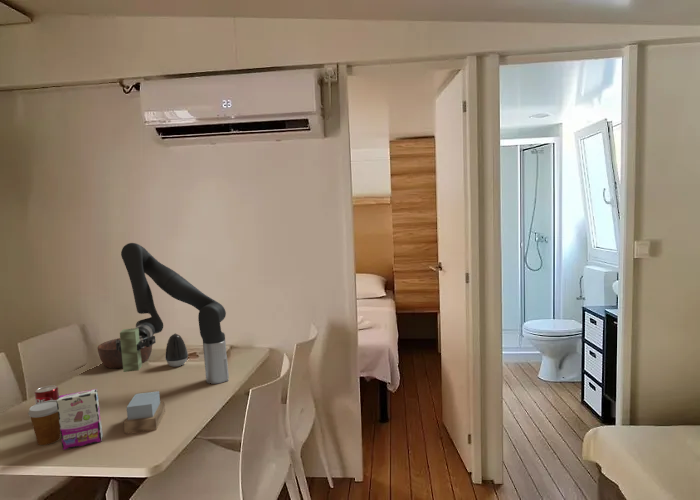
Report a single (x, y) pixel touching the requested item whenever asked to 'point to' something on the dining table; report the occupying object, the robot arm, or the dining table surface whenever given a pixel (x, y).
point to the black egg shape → (176, 351)
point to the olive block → (130, 350)
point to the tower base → (145, 422)
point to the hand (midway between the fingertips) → (129, 348)
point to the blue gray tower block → (143, 405)
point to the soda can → (46, 394)
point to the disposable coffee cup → (45, 422)
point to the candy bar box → (79, 419)
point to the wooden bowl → (117, 354)
